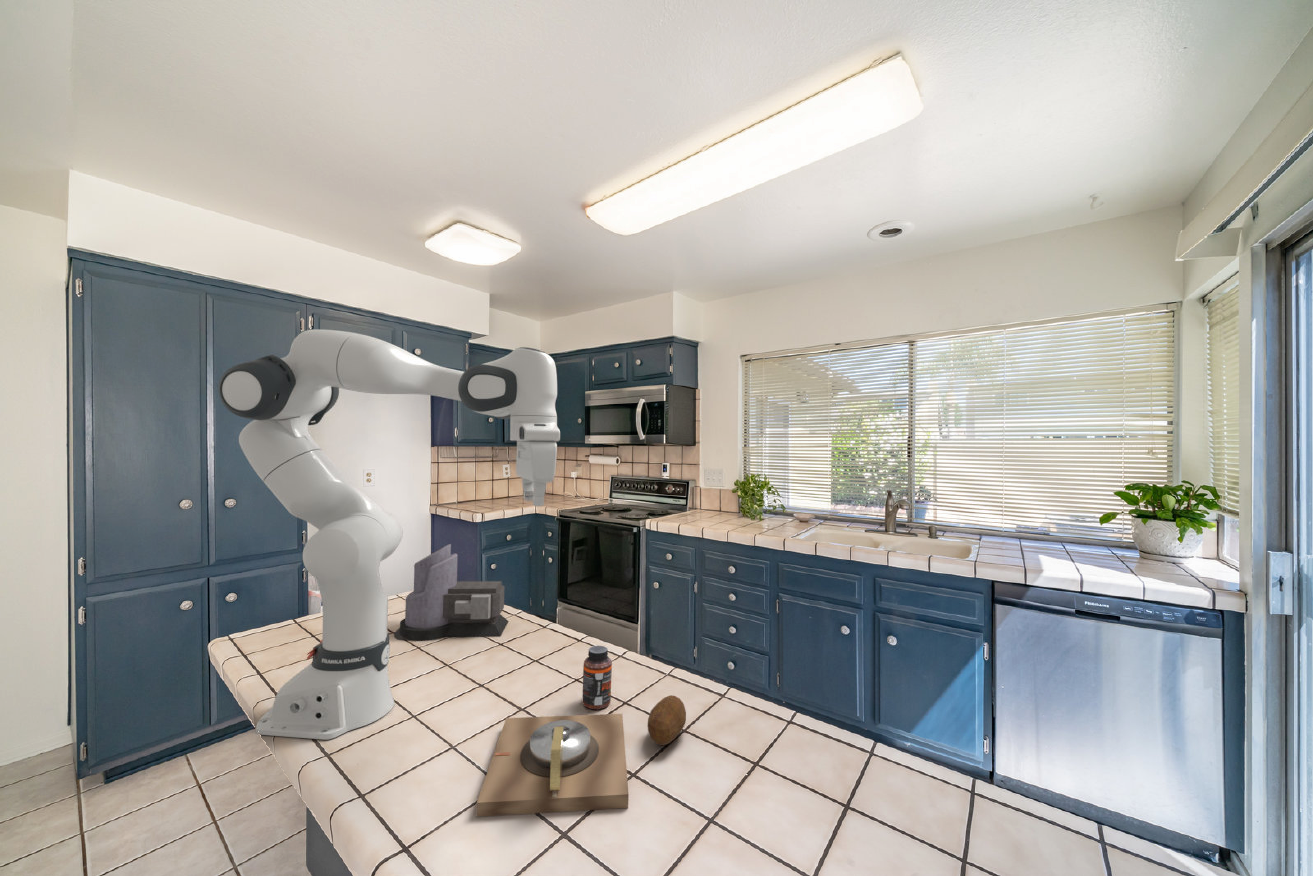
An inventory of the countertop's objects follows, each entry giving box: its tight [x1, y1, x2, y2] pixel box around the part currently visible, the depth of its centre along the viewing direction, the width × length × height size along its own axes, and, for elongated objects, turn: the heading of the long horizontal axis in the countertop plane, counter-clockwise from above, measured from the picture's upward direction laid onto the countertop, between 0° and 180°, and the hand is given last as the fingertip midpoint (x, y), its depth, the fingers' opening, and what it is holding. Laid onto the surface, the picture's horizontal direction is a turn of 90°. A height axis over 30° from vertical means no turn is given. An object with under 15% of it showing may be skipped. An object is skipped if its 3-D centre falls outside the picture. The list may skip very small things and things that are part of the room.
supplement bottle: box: [581, 645, 613, 710], centre depth 103 cm, size 6×6×11 cm
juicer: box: [393, 543, 509, 642], centre depth 141 cm, size 30×16×24 cm, turn 96°
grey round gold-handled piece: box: [530, 720, 590, 790], centre depth 81 cm, size 15×10×6 cm, turn 6°
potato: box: [647, 695, 687, 746], centre depth 91 cm, size 7×12×7 cm, turn 165°
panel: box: [475, 713, 630, 818], centre depth 83 cm, size 22×22×2 cm
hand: (533, 503), depth 95 cm, fingers open, 8 cm apart
